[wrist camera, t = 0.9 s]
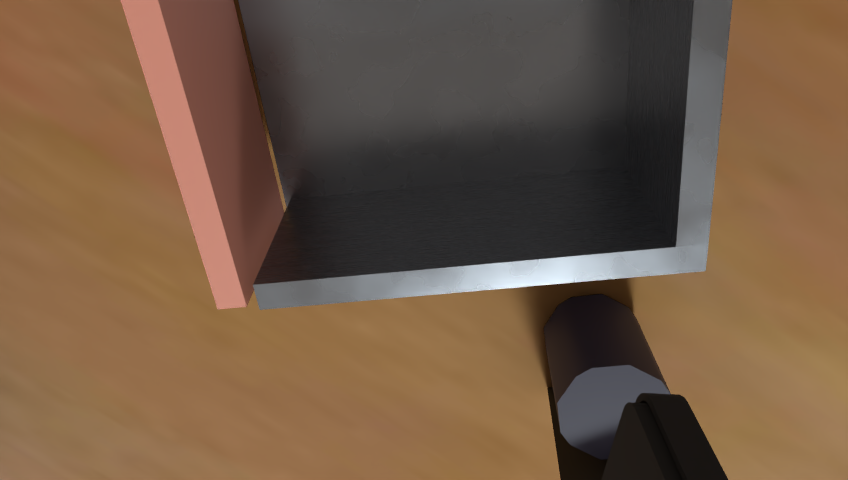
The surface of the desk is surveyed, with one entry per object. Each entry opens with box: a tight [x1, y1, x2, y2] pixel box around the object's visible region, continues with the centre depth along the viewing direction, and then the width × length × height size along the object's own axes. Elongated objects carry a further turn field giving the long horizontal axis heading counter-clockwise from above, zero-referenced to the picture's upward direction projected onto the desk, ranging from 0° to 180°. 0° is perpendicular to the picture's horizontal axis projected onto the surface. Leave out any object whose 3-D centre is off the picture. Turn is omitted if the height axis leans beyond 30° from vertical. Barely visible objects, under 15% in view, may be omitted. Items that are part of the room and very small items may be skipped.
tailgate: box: [121, 0, 284, 309], centre depth 26 cm, size 1×22×8 cm, turn 6°
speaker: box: [544, 294, 670, 480], centre depth 37 cm, size 8×6×10 cm
